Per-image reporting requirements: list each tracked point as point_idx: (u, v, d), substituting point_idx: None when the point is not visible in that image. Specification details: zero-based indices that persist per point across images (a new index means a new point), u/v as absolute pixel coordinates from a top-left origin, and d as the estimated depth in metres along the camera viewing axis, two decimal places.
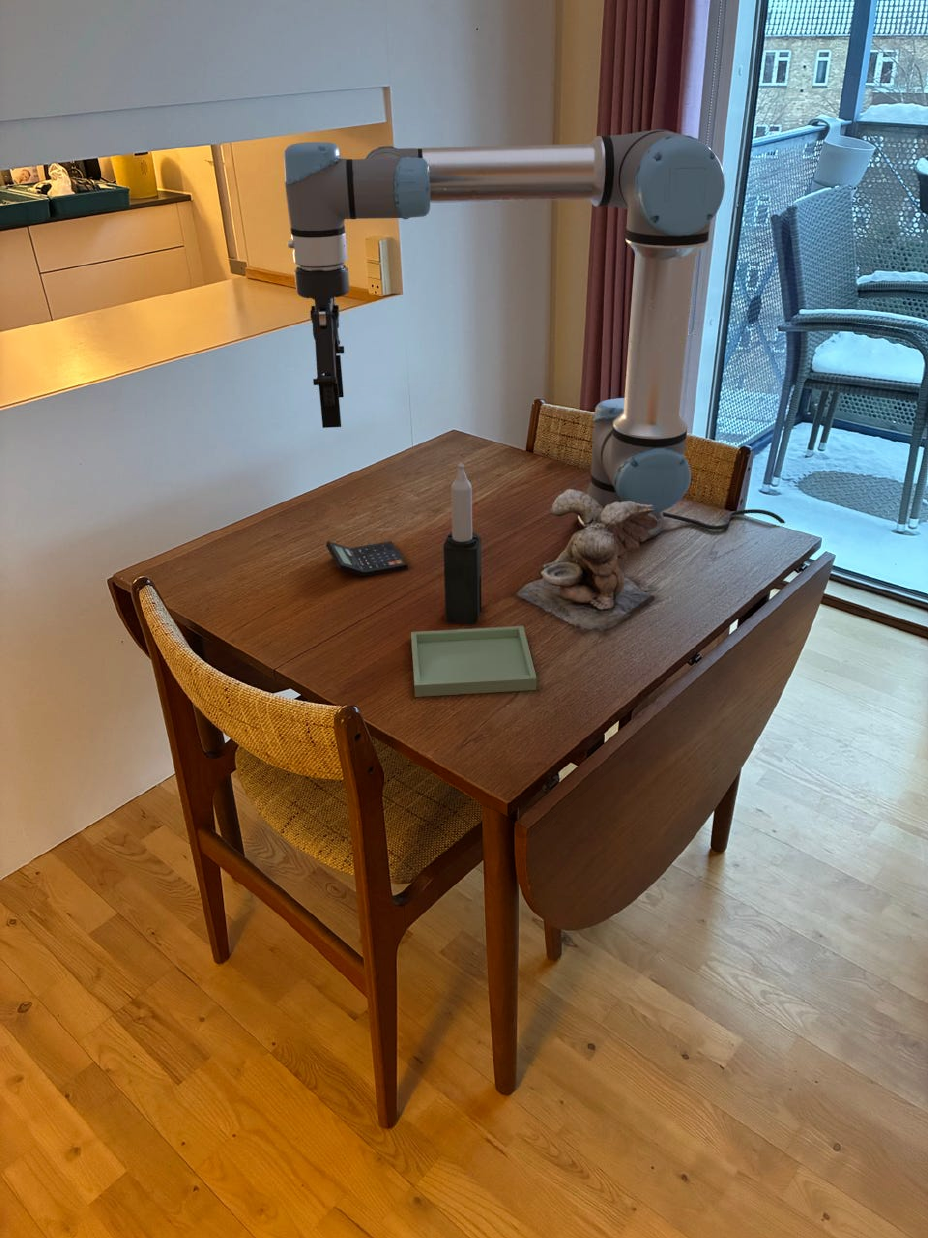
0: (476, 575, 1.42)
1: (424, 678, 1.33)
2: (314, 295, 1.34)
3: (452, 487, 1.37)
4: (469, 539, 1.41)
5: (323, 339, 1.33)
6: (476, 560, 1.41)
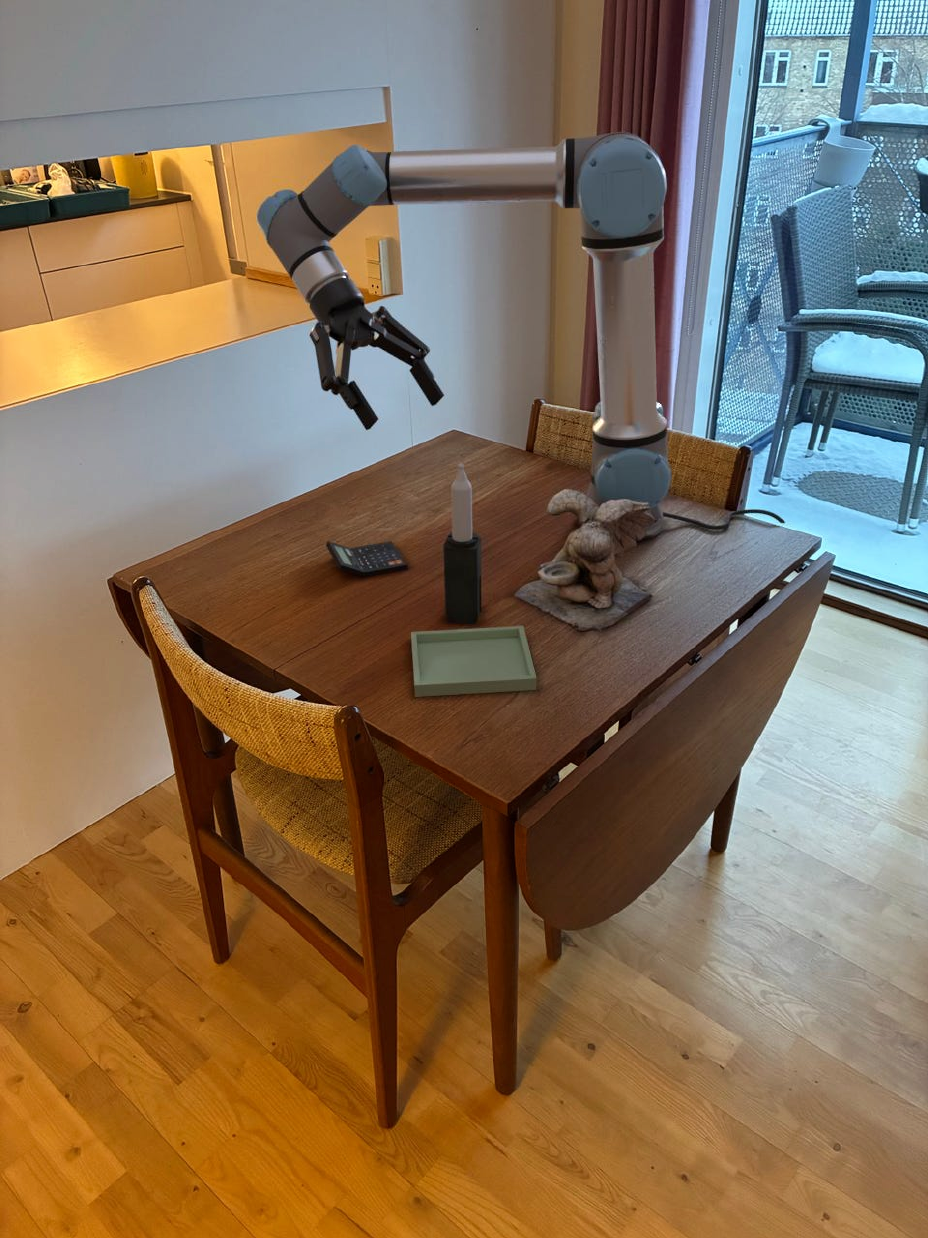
0: (476, 575, 1.42)
1: (424, 678, 1.33)
2: (319, 319, 1.40)
3: (452, 487, 1.37)
4: (469, 539, 1.41)
5: (319, 350, 1.36)
6: (476, 560, 1.41)
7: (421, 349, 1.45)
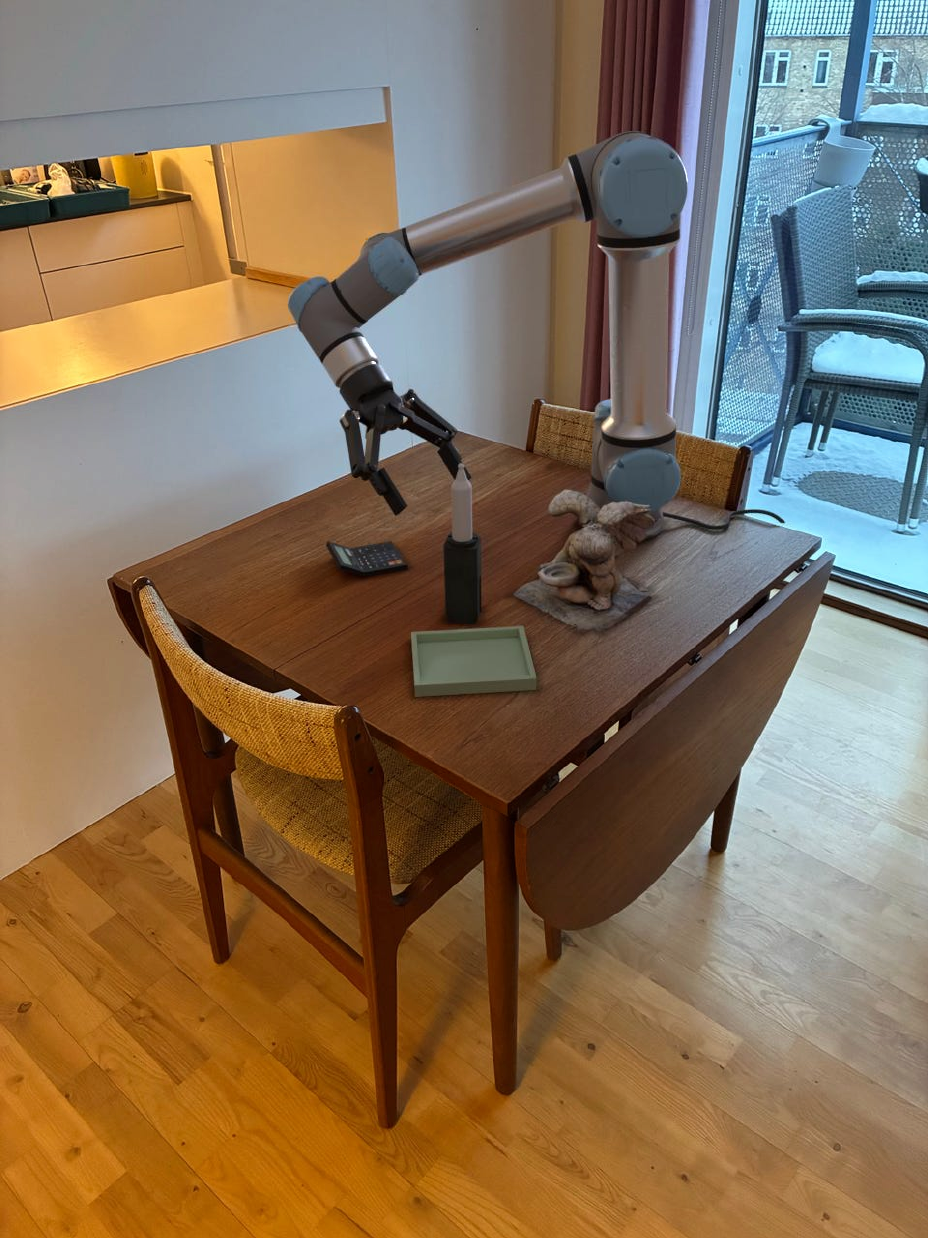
0: (476, 575, 1.42)
1: (424, 678, 1.33)
2: (349, 404, 1.41)
3: (452, 487, 1.37)
4: (469, 539, 1.41)
5: (349, 437, 1.38)
6: (476, 560, 1.41)
7: (449, 431, 1.47)
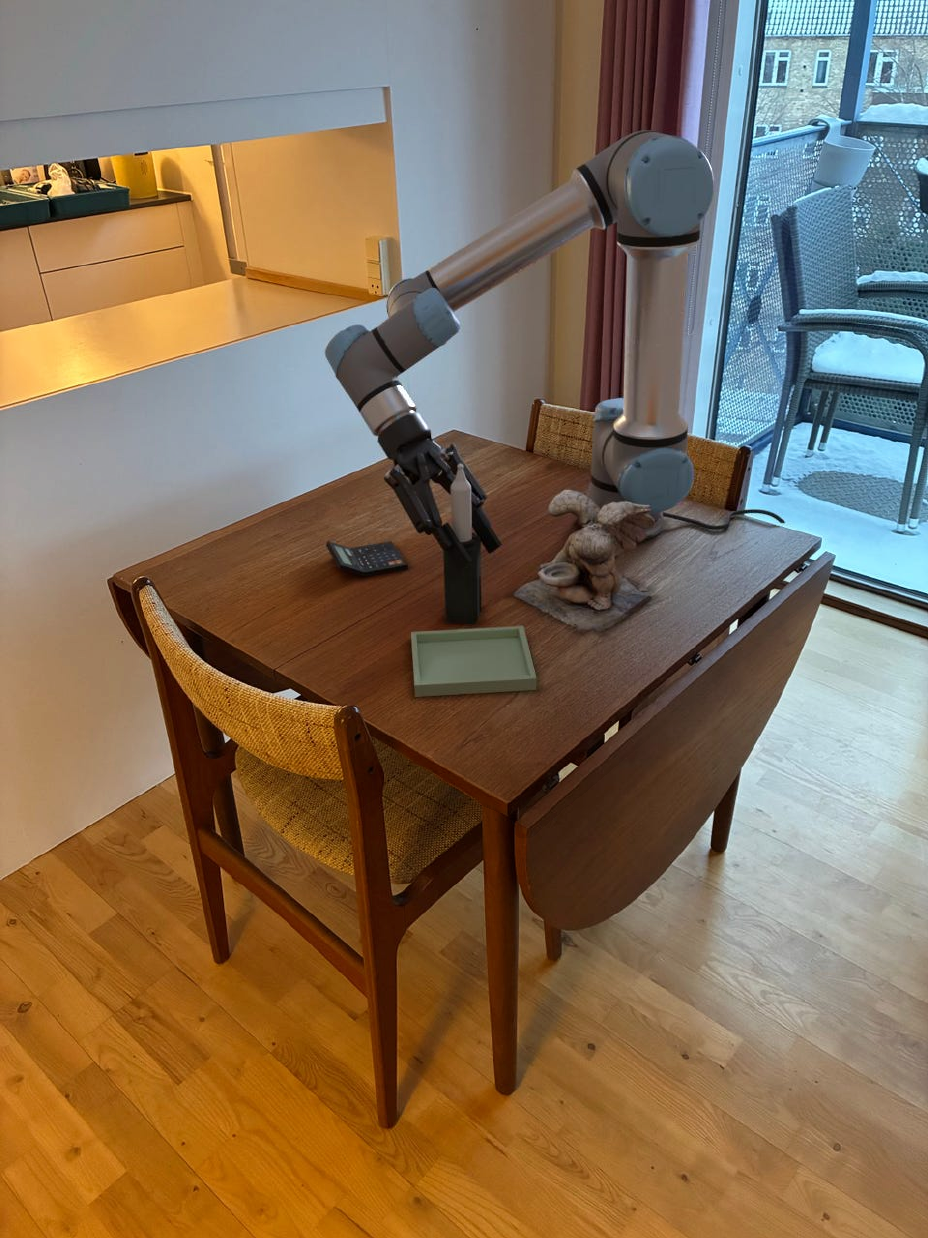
0: (476, 575, 1.42)
1: (424, 678, 1.33)
2: (388, 454, 1.40)
3: (451, 487, 1.37)
4: (469, 539, 1.41)
5: (402, 494, 1.37)
6: (476, 560, 1.41)
7: (478, 494, 1.44)
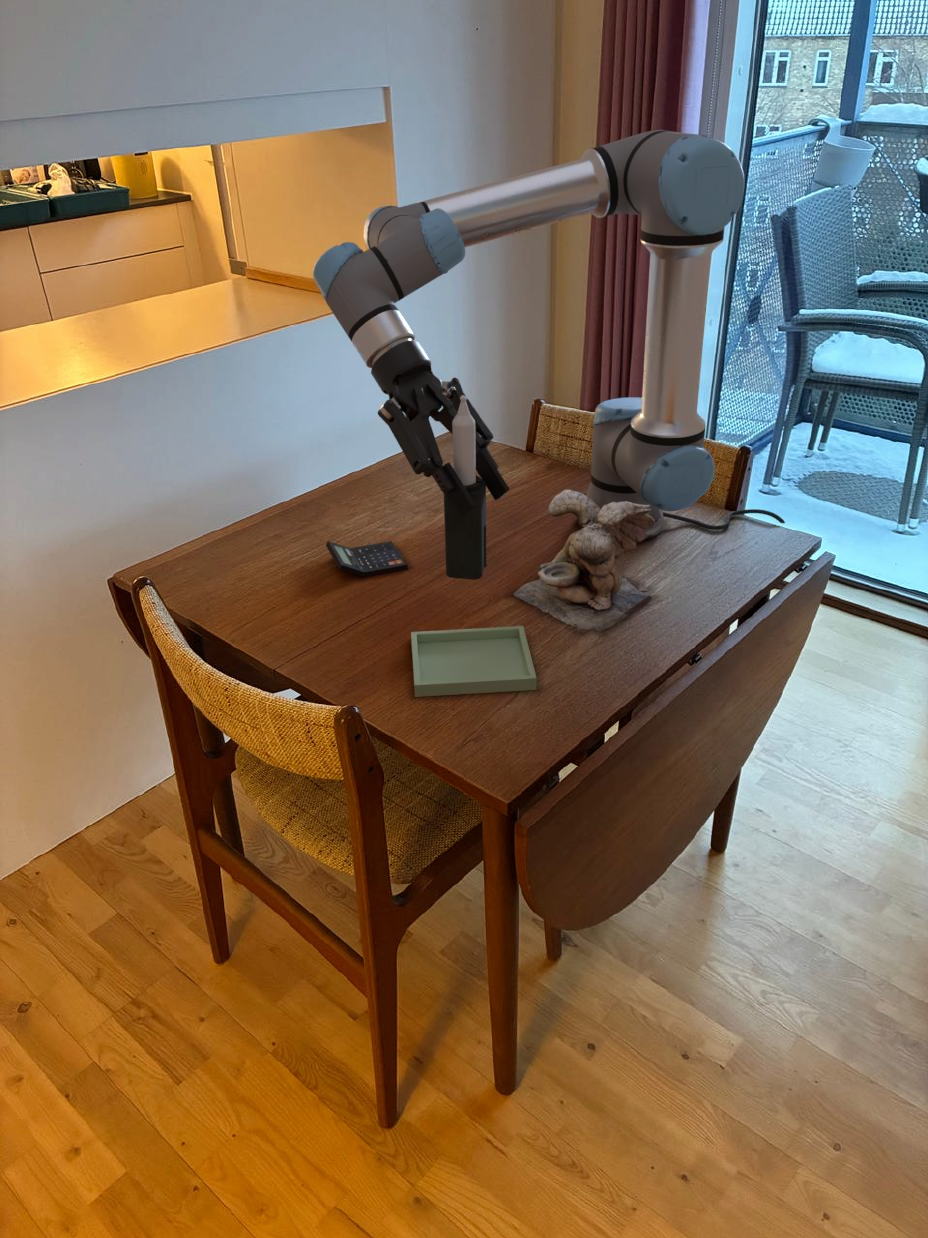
0: (480, 523, 1.28)
1: (424, 678, 1.33)
2: (382, 386, 1.25)
3: (453, 423, 1.22)
4: (472, 483, 1.26)
5: (397, 431, 1.22)
6: (480, 506, 1.26)
7: (483, 434, 1.29)
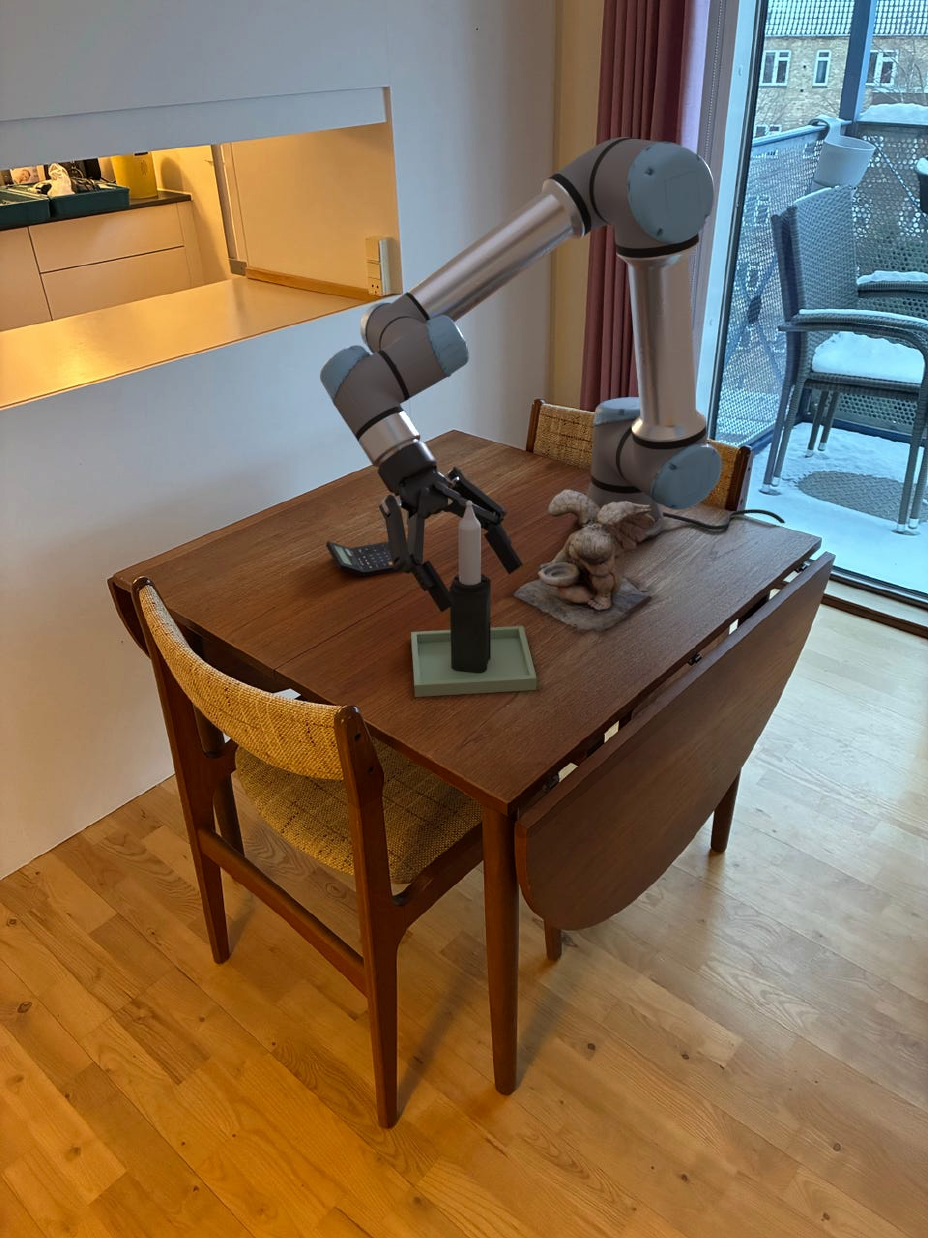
0: (485, 621, 1.30)
1: (424, 678, 1.33)
2: (389, 487, 1.28)
3: (459, 526, 1.25)
4: (478, 582, 1.29)
5: (390, 526, 1.24)
6: (485, 605, 1.29)
7: (497, 512, 1.33)
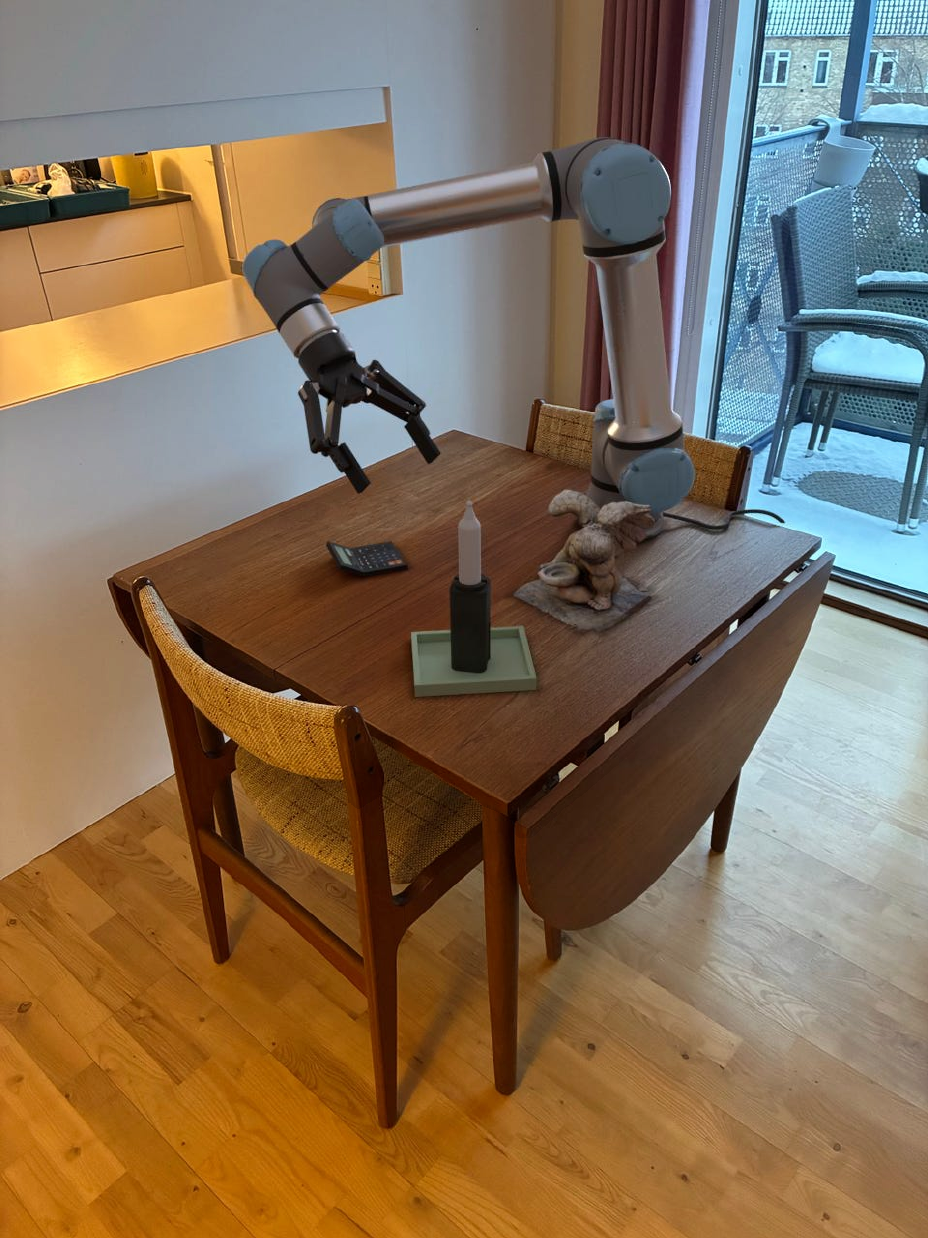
0: (485, 621, 1.30)
1: (424, 678, 1.33)
2: (309, 375, 1.32)
3: (459, 526, 1.25)
4: (478, 582, 1.29)
5: (308, 410, 1.29)
6: (485, 605, 1.29)
7: (416, 404, 1.38)
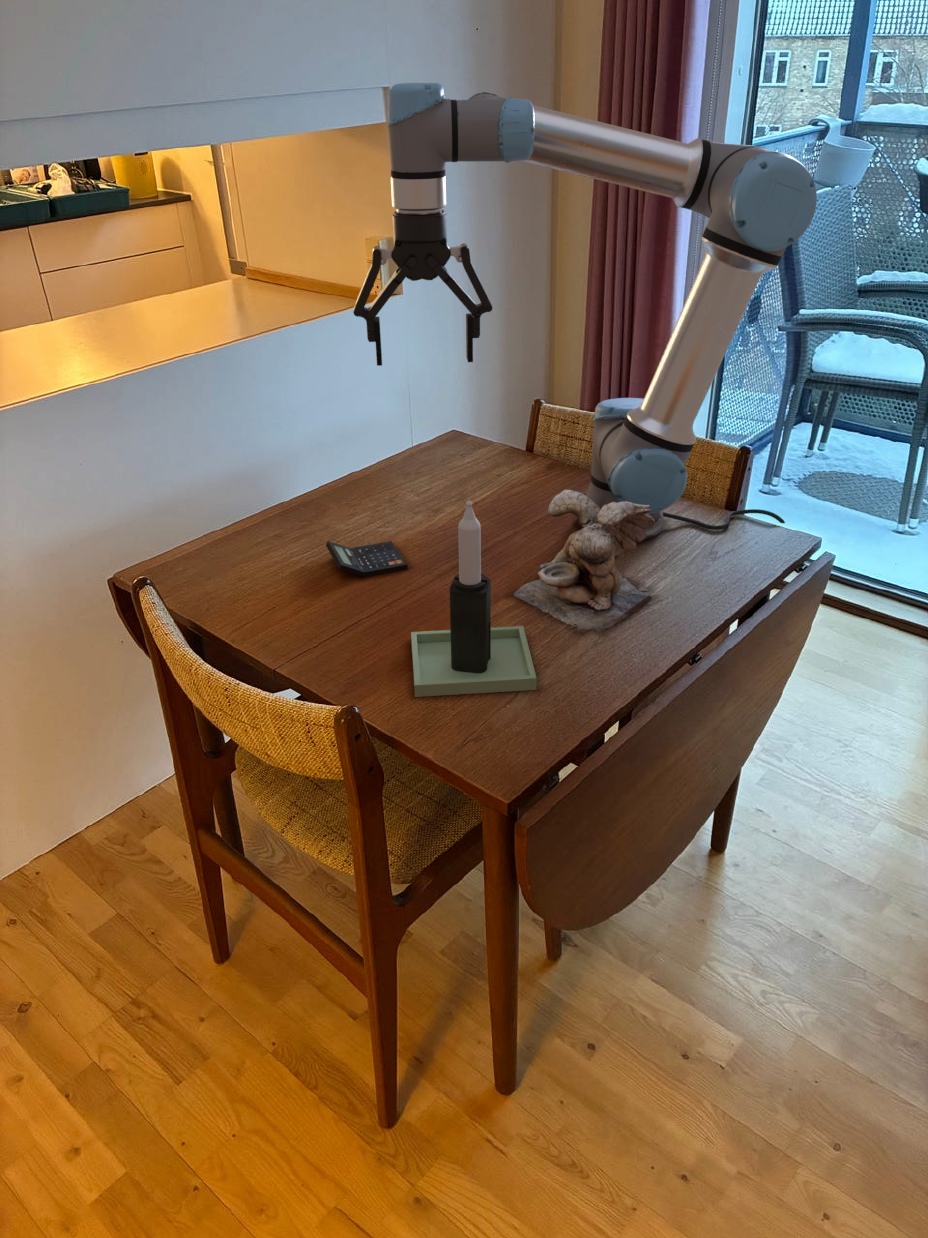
0: (485, 621, 1.30)
1: (424, 678, 1.33)
2: None
3: (459, 526, 1.25)
4: (478, 582, 1.29)
5: None
6: (485, 605, 1.29)
7: (482, 305, 1.40)
